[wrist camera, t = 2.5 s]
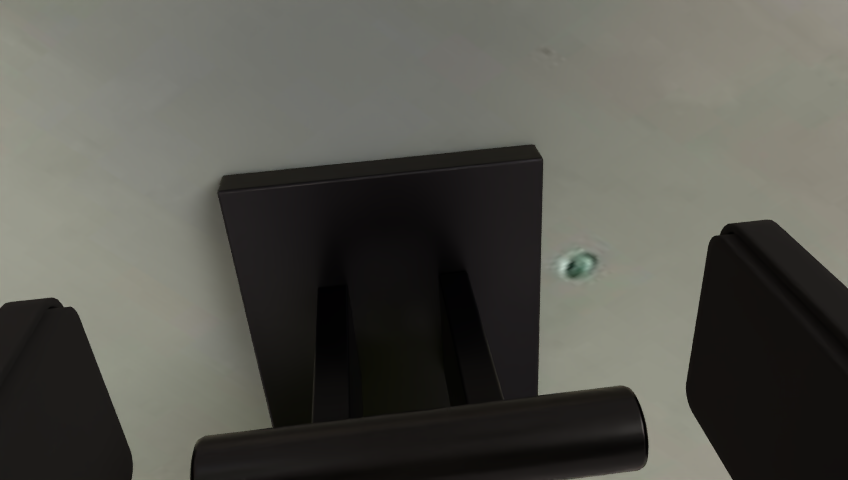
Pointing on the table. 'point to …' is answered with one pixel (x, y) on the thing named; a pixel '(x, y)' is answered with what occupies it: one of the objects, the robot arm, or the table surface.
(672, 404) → the table surface
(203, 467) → the switch lever
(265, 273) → the switch bracket
